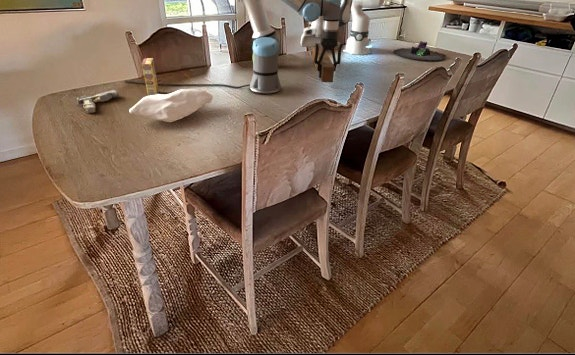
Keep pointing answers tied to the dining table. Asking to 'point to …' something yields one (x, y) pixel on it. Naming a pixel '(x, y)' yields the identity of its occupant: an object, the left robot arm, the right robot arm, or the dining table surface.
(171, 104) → the crumpled cloth
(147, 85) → the candy box
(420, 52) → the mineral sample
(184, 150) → the dining table surface
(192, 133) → the dining table surface
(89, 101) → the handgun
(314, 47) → the bar
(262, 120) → the dining table surface
